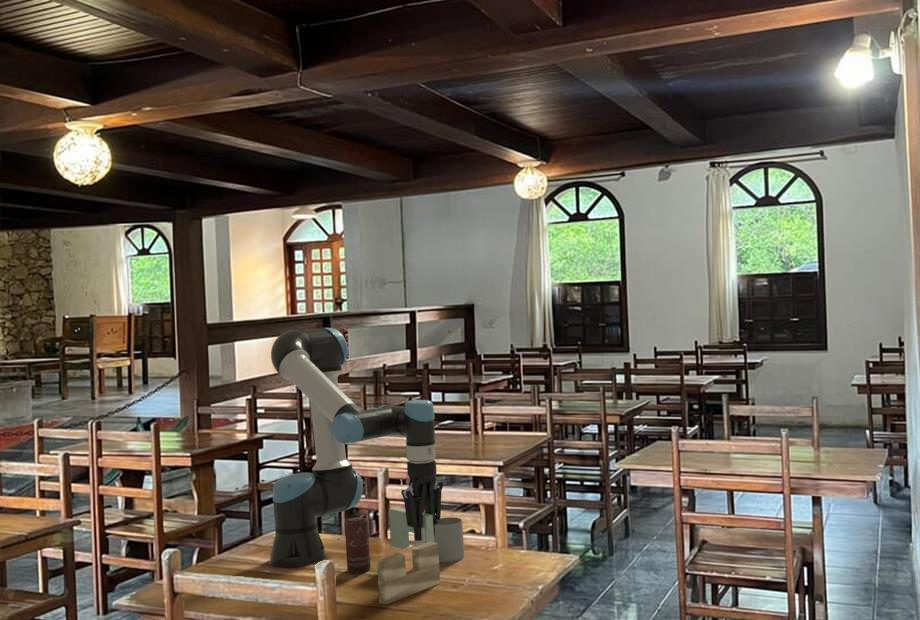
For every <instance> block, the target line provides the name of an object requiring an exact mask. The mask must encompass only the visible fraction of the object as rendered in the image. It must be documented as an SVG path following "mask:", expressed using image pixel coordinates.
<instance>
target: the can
mask: <svg viewBox="0 0 920 620" xmlns="http://www.w3.org/2000/svg"><path fill="white" fill-rule="evenodd" d="M344 534H345V538H344V539H345V553H346V565H347V566H346V568H347V571H348V572H349V573H350V574H357V575H358V574H363V573H366V572H369V571H370V569H371V555H370V554H371V552H370V538H369V537H370V535H369V519H368V518H367V517H366V516H365V515H363V514H362V515H352V516H348V517H346V518H345V520H344Z"/></svg>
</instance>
